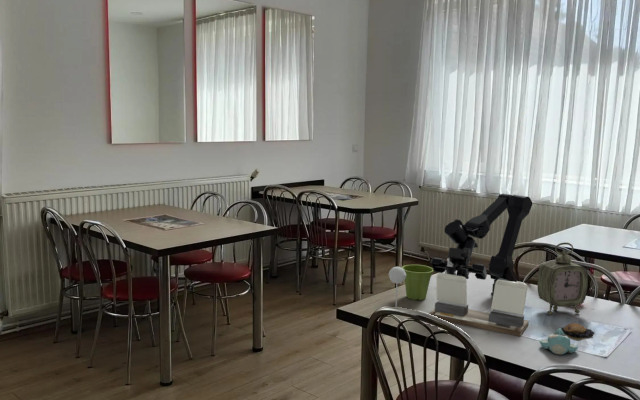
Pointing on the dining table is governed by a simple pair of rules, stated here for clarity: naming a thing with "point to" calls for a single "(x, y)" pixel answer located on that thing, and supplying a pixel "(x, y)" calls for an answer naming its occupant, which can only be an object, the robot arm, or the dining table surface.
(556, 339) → the stuffed animal
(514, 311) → the toggle
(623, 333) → the dining table surface
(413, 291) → the plant pot
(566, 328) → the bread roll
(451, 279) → the toggle
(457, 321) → the switch board
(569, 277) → the tabletop clock
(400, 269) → the lollipop
